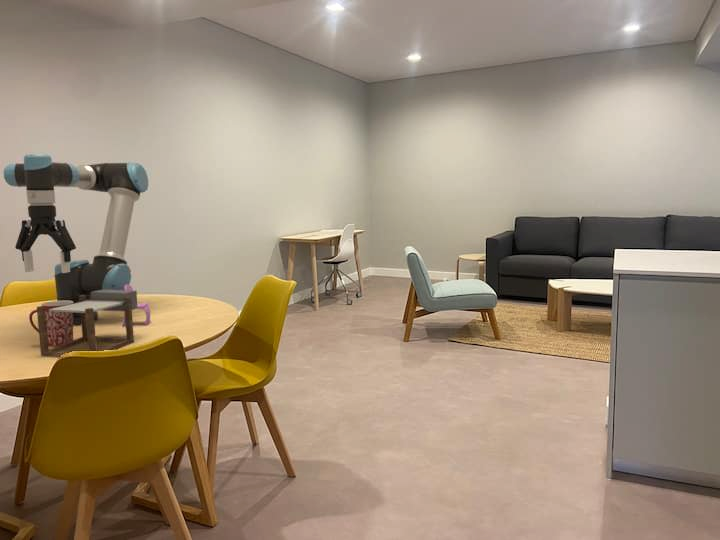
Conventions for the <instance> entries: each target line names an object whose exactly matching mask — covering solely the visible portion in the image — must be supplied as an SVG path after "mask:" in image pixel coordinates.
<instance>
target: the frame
mask: <svg viewBox="0 0 720 540" xmlns="http://www.w3.org/2000/svg"><path fill="white" fill-rule="evenodd" d="M86 300H87V299H86V295H81V296H79V302H84V301H86ZM123 304H124V308H125V322H126V325H125V331H126V333H125V334H126V337H116V336H115V337H114V336H98V335H96V327H95V325H96V324H95V321H94V312H93V308H87V309H85V313H81V324H80V325H81V335H82V337H79V338H76V339H73V341H70V342H67V343H64V344H62V345H59V346H53V347H51V348H50V347H49V345H48V335H47V324H46V314H45V306H42V305H40V306H39V305H38V306H36V310H37V312H36V317H37V328H38V329H39V333H38V337H39V346H40V347H39V349H40V355H41V357H50V358H51V357H52V358H53V357H54V358H61V357H60V356H61V355H63V354H65V353H67V352H68V351H63V350H66V349H68V347H69V348H70V347H73V346H76V345H79V344H82V343H84V342H87V347H88V352H89V351H97V350H98V349H97V342H104V343H105V342H106V343H107V342H108V343H115V344H112V345H110V346H108V347H106V348H102V349H100V350H99V351H104V350H114V349H116V350H118V349H119V350H120V349H121V348H123V347H126V346H128V345H130V344H133V343H135V340H134V339H135V337H134V324H133V310H132V307H131V305H132V301H131V297H124V302H123ZM60 350H61V351H60ZM114 351H115V350H114ZM97 352H98V351H97Z"/></svg>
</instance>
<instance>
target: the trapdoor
mask: <svg viewBox="0 0 720 540" xmlns="http://www.w3.org/2000/svg"><path fill="white" fill-rule="evenodd" d="M124 297H131V301H132V305H131V307H132V311H133V310H136V309H137V303H138V290H133V291H131V290H98V291H93V292H91V300H86V301H84V302H79V303H75V304H70V305H66V306H62V307H57V308H53V309H49V311H53V312H76V313H85V309H87V308H93V312H96V311H97V312H99V311H104V312H105V311H107V312H108V311H109V312H124V311H125V308H124V304H123V302H124ZM137 310H138V309H137Z"/></svg>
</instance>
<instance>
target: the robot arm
mask: <svg viewBox="0 0 720 540" xmlns="http://www.w3.org/2000/svg"><path fill="white" fill-rule="evenodd" d="M4 167H5V168H4V170H3V179H4V181H5V182H6V183H7V185H9V186H10V187H17V188H22V187H25V188H26V189H25V190H26V198H27V203H28V204H29V205H28V206H27V210H28V211H27V213H28V217H29V218H30V219H24V220H23V219H22V220H21V228H20V232H19V234H18V237H17V240H16V244H15V246H14V247H15V249H16V250H19V251H20V252H21V256H22V257H21V258H22V261H23V262H24V263H23V264H24V273H30V272H34V270H35V269H34V258H33V256H34V255H33V251H32V250H31V248H32V247H33V245H34V244H35V242H36V240H37V239H38V237H39V236H41V235H45V236H48V237H51V239H52V240H53V241H54V243H55V244H56V245H57V246H58V247H59V248H60V250H61V251H60V252H59V257H60V263H57V264H56V265H55V266H54V282H55V290H56V291H55V292H56V301H62V300H67V301H73V304H75V303H79V296H81V295H86V299H87V300H91V292H93V291H98V290H125V285H131V280H132V274H131V272H132V270H131V268H130V266H129V265H128V262H127V260H126V259H125V253H126V248H127V243H128V237H129V231H130V227H131V222H132V216H133V211H134V205H135V203H136V202H137V201H139V200H140V195H141V193H142V194H144V193H145V192H147V191H148V188H149V177H148V174H147V171H146V169H145V167H144V166H143V165H142V164H141V163H138V162H130V161H129V162H104V163H103V162H102V163H95V164H81V165H78V166H75V165H74V164H71V163H67V162H53V159H52V156H51V155H49V154H44V153H28V154H27V153H26V154H25V155H24V157H23V163H17V162H16V163H9V164H6V165H5V166H4ZM55 188H78V189H80V190H84V191H94V192H100V193H107V194H108V195H109V196H110V200H109V206H108V210H107V215H106V220H105V225H104V229H103V233H102V240H101V243H100V249H99V253H98V254H96V255H94V257H93V260H92V263H90V261H89V259H80V260H72V257H71V252H72V251H73V250H76V248H77V245H76V244H75V242H74V241H73V239H72V236H71V235H70V232H69V231H68V228H67V227H66V221H65V220H64V219H58V220H57V219H56V217H57V208H56V205H54V204H55V203H56V196H55ZM71 260H72V261H71ZM98 320H99V314H98V311H96V312H94V322H96V321H98ZM78 325H81V313H76V312H73V326H78Z"/></svg>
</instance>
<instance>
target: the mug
mask: <svg viewBox="0 0 720 540" xmlns="http://www.w3.org/2000/svg"><path fill="white" fill-rule="evenodd" d="M70 304H73V301H67V300H62V301H57V300H52V301H46V302H43V303H41V305H40V306H45V314H46V324H47V335H48V346H50V347H56V346H59V345H62V344H64V343H67V342H70V341H73V340H74V325H73V312H53V311H49V309H53V308H57V307H62V306H66V305H70ZM34 314H37V309H33V310H32V311H31V312H30V313H29V316H28V318H29V319H28V320H29V323H30V325H31V326H32V328H33V329H34V330H35V331H36V332H37V333H38V334H39V327H38V326H36V324H35V323H34V321H33V316H34Z"/></svg>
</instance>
